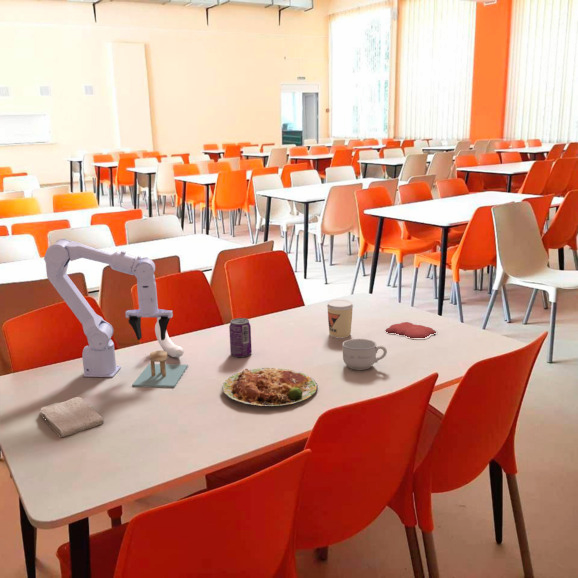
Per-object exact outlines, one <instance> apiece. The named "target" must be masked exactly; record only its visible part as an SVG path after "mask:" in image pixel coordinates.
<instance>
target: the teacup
mask: <svg viewBox="0 0 578 578" xmlns="http://www.w3.org/2000/svg"><path fill="white" fill-rule="evenodd" d="M341 344H342V359H343V362H344V364H345V365H346V366H348V367H349V368H350V369H351V370H356V371H362V370H368V369H370V368H371V367H372V366H373V365H374V364H376V363H378V362H379V361H380V360H383V359H384V358H386V355H387V353H388V351H387V348H386V347H385V346H384V345H377V342H376V341H373V340H372V339H366V338H352V339H347V340H344V341H343V342H342V343H341ZM378 350H382V351H383V353H382V354H381V355H380V356H378V357H377V354H378V352H379V351H378Z"/></svg>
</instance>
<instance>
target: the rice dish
mask: <svg viewBox="0 0 578 578" xmlns="http://www.w3.org/2000/svg"><path fill="white" fill-rule="evenodd" d="M221 387H222V388H221V390H222V392H223V393H224V394H225V395H226V396H227V397H228V398H230V399H231V400H233V401H236V402H238V403H242V404H246V405H252V406H255V405H256V406H257V407H258V406H260V407H262V406H265V407H275V406H286V405H287V406H288V405H292V404H295V403H298V402H304V401H306V400H308V399H310V397H312V396H313V395H314V394H315V393H317V390H318V383H317V382H316V381H315V379H313V378H312V377H311V376H309V375H308V374H305V373H302V372H299V371H296V370H290V369H285V368H277V367H272V368H271V367H262V368H254V369H248V368H245V369H242V371H239V372H237V373H235V374H233V375H231V376H229V377H227V379H225V382H224V381H223V383H222V385H221ZM308 387H309V388H308ZM304 392H307V394H305V395H303V393H304ZM266 404H267V405H266Z"/></svg>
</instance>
